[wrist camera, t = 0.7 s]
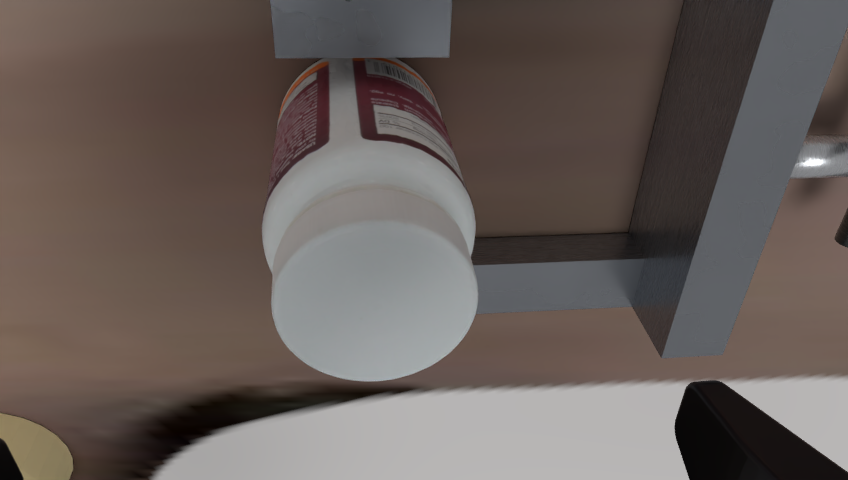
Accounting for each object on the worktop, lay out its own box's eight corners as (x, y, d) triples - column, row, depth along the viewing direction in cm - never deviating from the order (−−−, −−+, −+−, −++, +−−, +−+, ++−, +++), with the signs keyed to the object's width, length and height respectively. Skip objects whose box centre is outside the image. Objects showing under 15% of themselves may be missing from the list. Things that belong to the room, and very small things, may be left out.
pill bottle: (309, 212, 21) (298, 419, 14) (254, 71, 19) (207, 242, 12) (456, 174, 21) (515, 366, 14) (421, 26, 18) (474, 174, 12)
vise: (934, -93, 18) (1068, -65, 15) (783, 272, 25) (852, 347, 22) (272, -107, 16) (257, -78, 13) (305, 292, 23) (301, 378, 20)
